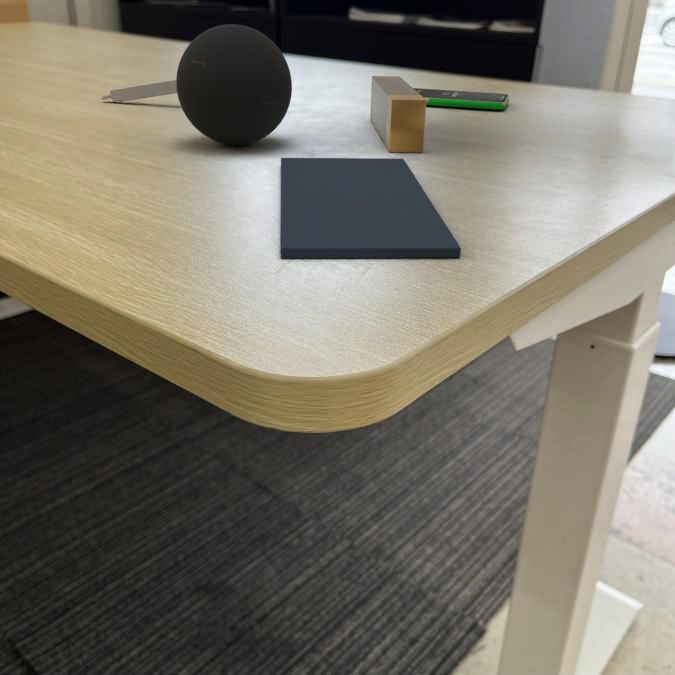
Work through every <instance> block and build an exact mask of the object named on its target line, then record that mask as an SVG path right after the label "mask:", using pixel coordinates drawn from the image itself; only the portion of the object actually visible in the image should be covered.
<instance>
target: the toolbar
mask: <svg viewBox="0 0 675 675" xmlns="http://www.w3.org/2000/svg"><path fill="white" fill-rule="evenodd" d="M413 88H414V87H412V86H411V85H410V84H409V83H408V82H407V81H406V80H405V79H403V78H402V77H401V76H400V75H399V76H398V75H393V76H392V75H371V90H370V113H369V114H370V115H369V116H370V117H369V121H370V122H371V123H372V125H373V127H374V128H375V130H376V132H377V134H378V135H379V137H380V139H381V140H382V142H383V144H384V146H385V147H386V149H387V150H388V153H423V151H424V142H425V141H424V140H425V139H424V138H425V129H426V128H425V127H426V114H427V105H426V99H425V98H423V97H422V96H421V95H420V94H419V93H418V92H417V91H416V90H414V89H413Z"/></svg>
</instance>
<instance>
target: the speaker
mask: <svg viewBox="0 0 675 675" xmlns="http://www.w3.org/2000/svg"><path fill="white" fill-rule="evenodd" d="M175 78H176V79H175V80H176V87H177V93H176V94H177V99H178V101H179V105H180V107H181V109H182V112H183V114H184V115H185V117H186V118H187V120H188V121H189V122H190V124H191V125H192V127H194V128H195V129H196V130H197V131H198V132H199V133H201V134H202V135H203V136H205V137H206V138H208V139H210V140H212V141H214V142H217V143H221V144H224V145H229V146H244V145H245V146H246V145H249V144H253V143H256V142H259V141H261V140H263V139H265V138H266V137H268V136H269V135H270V134H271V133H273V132H274V131H275V130H276V129H277V128H278V127H279V126H280V124H281V123H282V121H283V120H284V118H285V116H286V115H287V112H288V111H289V107H290V104H291V100H292V94H293V83H292V75H291V70H290V67H289V64H288V62H287V59H286V58H285V56H284V54H283V52H282V50H280V48H279V46H278V45H277V44H276V43H275V42H274V41H273V40H272V39H271V38H270V37H268V36H267V35H266V34H264V33H263V32H261V31H260V30H257V29H255V28H254V27H250V26H247V25H242V24H237V23H236V24H235V23H229V24H220V25H217V26H216V25H215V26H213V27H210V28H208V29H206V30H204V31H203V32H201V33H200V34H199V35H197V36H196V37H195V38H193V39H192V40H191V42H190V43H189V44H188V45H187V47H186V48H185V50H184V52H182V55H181V57H180V59H179V63H178V66H177V70H176V77H175Z"/></svg>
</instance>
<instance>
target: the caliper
mask: <svg viewBox="0 0 675 675" xmlns="http://www.w3.org/2000/svg"><path fill="white" fill-rule="evenodd" d="M174 94H177V87H176V79H170V80H163V81H159V82H158V81H157V82H151V83H150V82H149V83H145V84H138V85H132V86H127V87H126V86H125V87H119V88H114V89H109V94H106V95H102V97H101V98H100V99H101V100H103V101H105V100H106V101H107V100H111V101H112V103H113V102H116V103H124V102H131V101H136V100H141V99H142V100H143V99H149V98H155V97H162V96H168V95H174ZM116 103H115V104H116Z"/></svg>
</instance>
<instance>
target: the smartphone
mask: <svg viewBox="0 0 675 675" xmlns="http://www.w3.org/2000/svg"><path fill="white" fill-rule="evenodd" d="M412 88H413V89H414V90H416V91H417V92H418V93H419V94H420V95H421V96H422V97H423V98H425V99H426V106H434V107H450V108H465V109H481V110H494V111H498V110H499V111H500V110H503V109H505V108H506V107H507V105H508V104H509V102H510V95H509V94H506V93H496V92H483V91H482V92H481V91H467V90H466V91H465V90H451V89H450V90H449V89H437V88H436V89H435V88H419V87H412Z"/></svg>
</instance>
